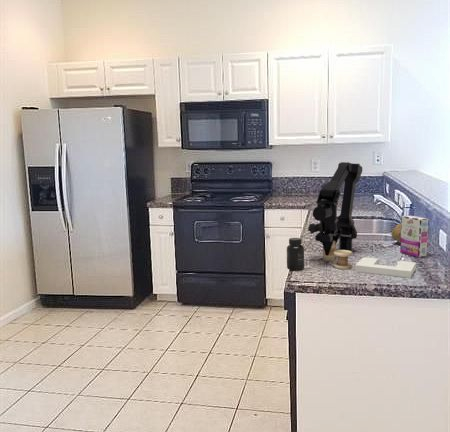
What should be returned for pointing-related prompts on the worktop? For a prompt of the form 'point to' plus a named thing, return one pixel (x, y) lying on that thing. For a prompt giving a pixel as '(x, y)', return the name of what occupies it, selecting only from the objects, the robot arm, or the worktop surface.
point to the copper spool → (331, 255)
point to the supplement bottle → (295, 254)
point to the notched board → (385, 268)
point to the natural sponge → (397, 233)
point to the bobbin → (342, 259)
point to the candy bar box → (414, 236)
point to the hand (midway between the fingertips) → (329, 253)
